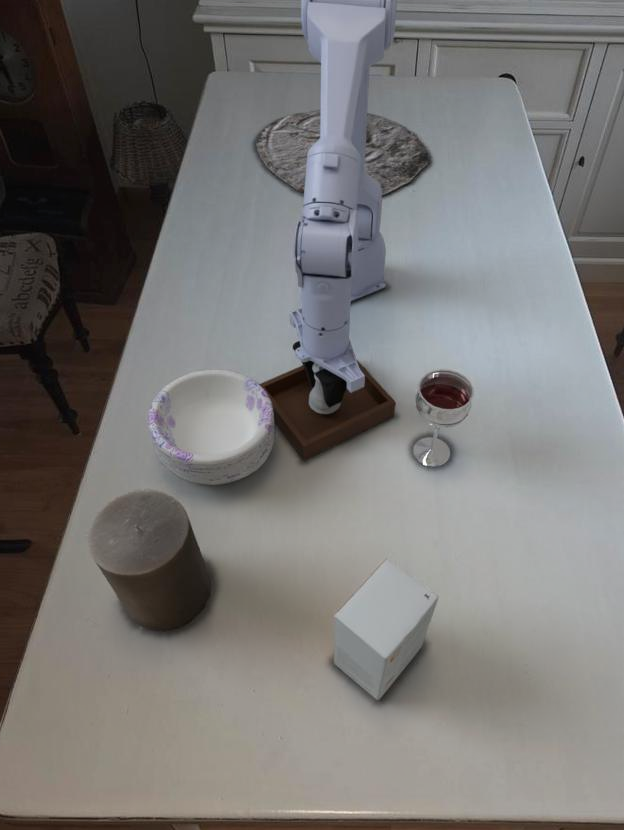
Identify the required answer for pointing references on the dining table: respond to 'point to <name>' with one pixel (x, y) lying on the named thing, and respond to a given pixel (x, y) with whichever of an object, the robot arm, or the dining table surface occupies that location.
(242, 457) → the paper bowls
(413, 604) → the small box
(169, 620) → the pillar candle
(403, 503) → the dining table surface
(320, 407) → the rook chess piece
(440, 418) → the wineglass
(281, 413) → the tray
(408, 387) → the dining table surface
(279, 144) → the worn metal disc
